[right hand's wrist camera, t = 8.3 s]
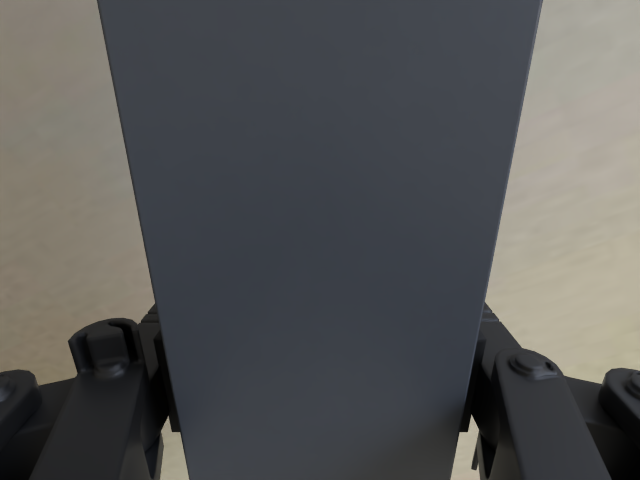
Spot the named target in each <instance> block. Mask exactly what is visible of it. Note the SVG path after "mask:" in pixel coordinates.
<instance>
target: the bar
mask: <svg viewBox="0 0 640 480" xmlns="http://www.w3.org/2000/svg"><path fill="white" fill-rule="evenodd" d="M542 2H543V0H97V3H98V8H99V13H100V19H101V24H102V29H103V34H104V39H105V44H106V50H107V55H108V60H109V65H110V70H111V76H112V81H113V86H114V91H115V96H116V102H117V107H118V112H119V117H120V122H121V127H122V133H123V138H124V143H125V148H126V153H127V159H128V164H129V169H130V174H131V179H132V184H133V190H134V195H135V200H136V205H137V210H138V216H139V221H140V226H141V231H142V236H143V241H144V247H145V252H146V257H147V262H148V267H149V273H150V278H151V283H152V288H153V293H154V298H155V304H156V309H157V314H158V319H159V324H160V330H161V335H162V340H163V345H164V350H165V355H166V361H167V366H168V371H169V376H170V381H171V387H172V392H173V397H174V402H175V407H176V412H177V418H178V423H179V428H180V433H181V438H182V444H183V449H184V454H185V459H186V464H187V469H188V475H189V480H450V478H451V473H452V468H453V463H454V458H455V453H456V447H457V442H458V437H459V432H460V427H461V421H462V416H463V411H464V406H465V401H466V396H467V390H468V385H469V380H470V375H471V370H472V364H473V359H474V354H475V349H476V344H477V339H478V333H479V328H480V323H481V318H482V313H483V307H484V302H485V297H486V292H487V287H488V282H489V276H490V271H491V266H492V261H493V256H494V250H495V245H496V240H497V235H498V230H499V225H500V219H501V214H502V209H503V204H504V199H505V193H506V188H507V183H508V178H509V173H510V168H511V162H512V157H513V152H514V147H515V142H516V136H517V131H518V126H519V121H520V116H521V111H522V105H523V100H524V95H525V90H526V85H527V79H528V74H529V69H530V64H531V59H532V54H533V48H534V43H535V38H536V33H537V28H538V22H539V17H540V12H541V7H542Z"/></svg>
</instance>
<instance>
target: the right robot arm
mask: <svg viewBox="0 0 640 480" xmlns="http://www.w3.org/2000/svg"><path fill="white" fill-rule="evenodd" d="M68 343H69V347H70V350H71V353H72V356H73V360H74V363H75V366H76V369H77V372H78V374H77V376H76V377H75V378H72V379H68V380H63V381H58V382H54V383H49V384H44V385H40V386H38V383H37V381H36V378H35V375H34V374H32V373H31V372H30V371H26V370H12V371H5V372H1V373H0V480H160V474H161V465H162V456H163V448H164V445H163V438H162V434H161V430H162V428H163V426H164V423H165V421H166V419H167V417H168V415H169V420H170V425H171V430H172V432H180V428H179V423H178V418H177V412H176V407H175V402H174V397H173V392H172V387H171V381H170V376H169V371H168V366H167V361H166V355H165V350H164V345H163V340H162V335H161V330H160V324H159V319H158V314H157V309H156V304H154V305H153V306H152V308H151V309H150V310H149V311H148V314H146V315H145V316H144V318H143V319H142V320H141V323H139V324H137V323H135V322H134V321H133V320H131V319H126V318H111V319H107V320H102V321H98V322H96V323H93V324H91V325H88V326H86V327H84V328H83V329H81V330H79V331H78V332H76V333H75V334H74V335H73V336H72V337H71V338H70V339H69V341H68ZM471 414H472V416H473V418H474V420H475V422H476V424H477V426H478V428H479V434H478V438H477V443H476V447H475V452H474V456H473V461H472V468H471V469H473V470H477V465H478V464H479V473H480V480H640V371H638V370H633V369H626V368H617V369H611V370H610V371H608V372H607V373H606V374H605V377H604V380H603V383H602V384H599V383H594V382H589V381H584V380H580V379H575V378H570V377H567V376H564V375H563V373H562V372H561V370H560V369H559V368H558V366H557V365H556V364H555V363H553V362H552V361H551V360H549V359H548V358H547V357H545V356H543V355H541V354H539V353H537V352H534V351H531V350H527V349H524V348H522V347H521V346H520V345H519V344H518V342H517V341H516V340H515V339H514V337H513V336H512V335H511V334H510V333H509V331H508V330H507V329H506V328H505V326H504V325H503V324H502V323H501V322H499V319H498V318H497V316H496V315H495V314H494V313H492V310H491V309H490V308H489V307H488V305H487V304H486V303H485V302H484V307H483V313H482V318H481V323H480V328H479V333H478V339H477V344H476V349H475V354H474V359H473V364H472V370H471V375H470V380H469V385H468V390H467V396H466V401H465V406H464V411H463V416H462V421H461V427H460V432H468V428H469V423H470V419H471Z"/></svg>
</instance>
